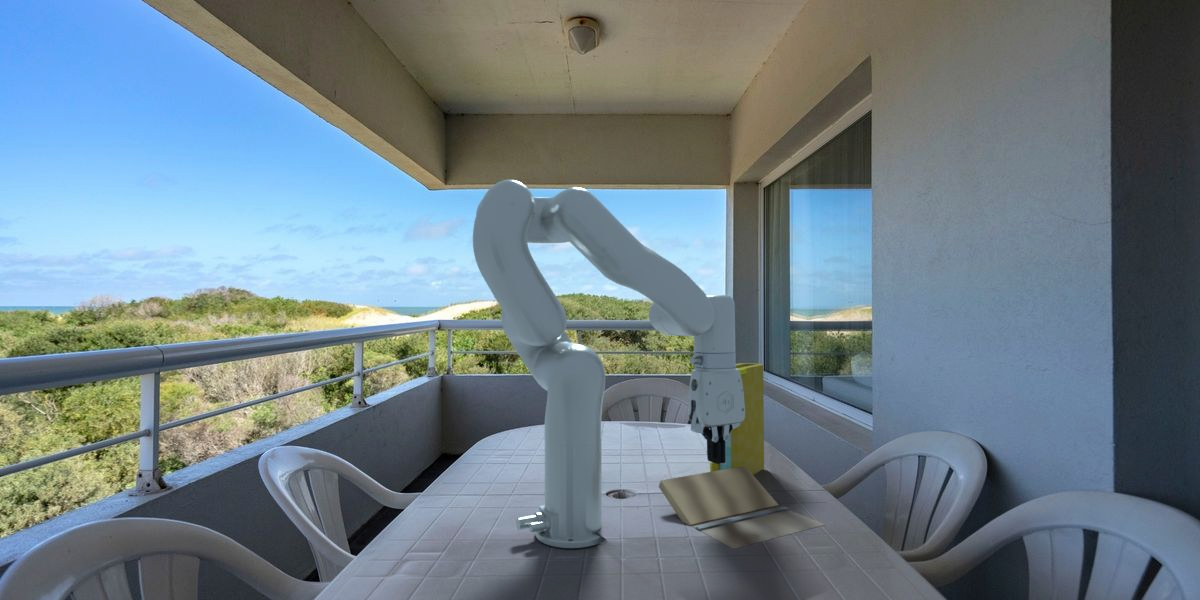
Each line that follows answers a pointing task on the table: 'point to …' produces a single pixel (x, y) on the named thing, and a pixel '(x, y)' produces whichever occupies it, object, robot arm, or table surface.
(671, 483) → the board
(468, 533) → the table surface
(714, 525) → the laid plank
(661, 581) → the table surface
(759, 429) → the book
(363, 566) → the table surface
